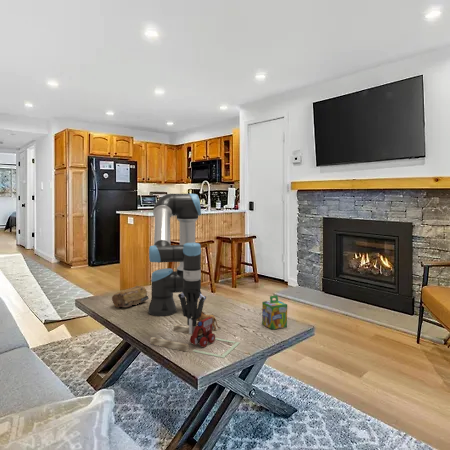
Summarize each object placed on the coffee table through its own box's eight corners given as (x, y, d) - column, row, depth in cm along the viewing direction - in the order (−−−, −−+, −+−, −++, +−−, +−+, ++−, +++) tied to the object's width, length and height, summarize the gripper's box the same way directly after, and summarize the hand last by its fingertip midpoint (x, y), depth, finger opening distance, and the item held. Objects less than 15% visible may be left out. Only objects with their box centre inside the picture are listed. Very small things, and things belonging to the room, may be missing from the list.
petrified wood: (126, 310, 199) (123, 292, 199) (110, 311, 205) (106, 294, 205) (150, 300, 216) (146, 284, 216) (134, 302, 222) (131, 286, 222)
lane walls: (150, 344, 154) (150, 338, 153) (175, 329, 171) (175, 324, 171) (186, 351, 146) (186, 345, 146) (208, 335, 163) (208, 330, 163)
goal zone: (192, 351, 146) (192, 351, 146) (211, 337, 161) (211, 337, 161) (223, 358, 140) (223, 357, 140) (240, 342, 155) (240, 342, 155)
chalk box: (272, 330, 170) (272, 299, 169) (261, 324, 178) (261, 295, 177) (287, 327, 174) (288, 297, 173) (276, 321, 182) (277, 292, 181)
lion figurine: (190, 328, 173) (190, 309, 172) (194, 324, 178) (194, 306, 177) (219, 331, 169) (219, 312, 168) (222, 327, 174) (222, 309, 173)
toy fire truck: (186, 346, 152) (186, 321, 151) (205, 337, 162) (205, 314, 161) (199, 350, 148) (199, 325, 147) (217, 340, 157) (217, 317, 157)
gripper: (174, 279, 153) (174, 333, 155) (200, 282, 147) (200, 338, 149) (183, 276, 160) (183, 327, 161) (209, 279, 154) (209, 332, 156)
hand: (192, 333), depth 155 cm, fingers closed
